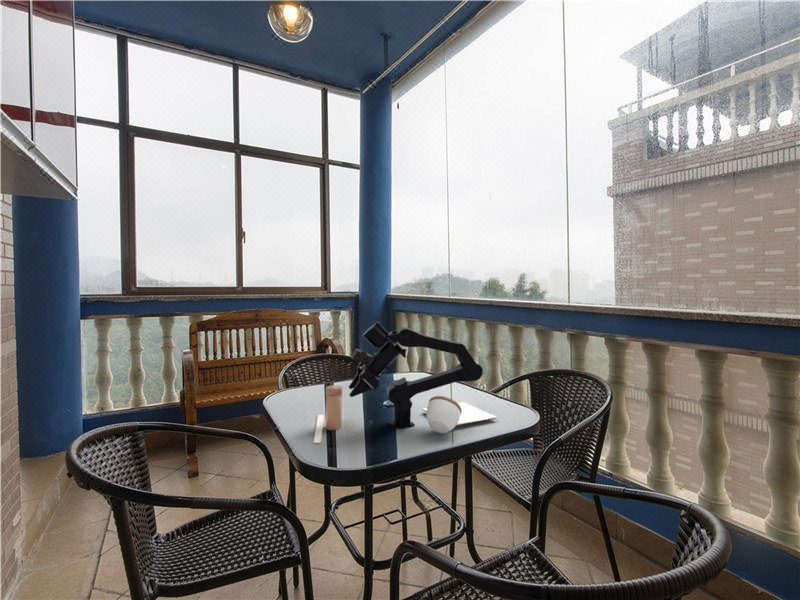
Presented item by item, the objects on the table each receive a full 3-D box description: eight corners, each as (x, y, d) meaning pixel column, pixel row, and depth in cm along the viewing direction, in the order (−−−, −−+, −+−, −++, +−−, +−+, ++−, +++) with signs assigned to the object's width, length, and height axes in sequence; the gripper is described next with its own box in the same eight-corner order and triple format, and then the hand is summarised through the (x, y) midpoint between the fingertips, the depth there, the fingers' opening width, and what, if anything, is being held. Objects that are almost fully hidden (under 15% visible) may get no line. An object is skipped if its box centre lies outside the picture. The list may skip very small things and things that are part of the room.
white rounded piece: (458, 425, 115) (466, 398, 122) (423, 412, 117) (432, 387, 124) (452, 441, 123) (460, 416, 129) (420, 429, 125) (428, 405, 131)
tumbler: (344, 428, 126) (344, 388, 126) (328, 431, 124) (328, 390, 123) (339, 423, 131) (339, 384, 130) (323, 425, 129) (323, 386, 128)
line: (320, 443, 115) (320, 441, 115) (313, 443, 114) (313, 442, 114) (323, 415, 138) (323, 414, 138) (318, 416, 138) (318, 414, 138)
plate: (452, 431, 126) (452, 424, 126) (422, 413, 143) (422, 408, 142) (497, 422, 135) (497, 416, 135) (464, 407, 151) (464, 401, 151)
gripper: (365, 336, 137) (332, 368, 136) (368, 344, 119) (331, 382, 118) (387, 358, 139) (355, 390, 137) (394, 370, 120) (357, 407, 119)
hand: (349, 392), depth 128 cm, fingers open, 9 cm apart
